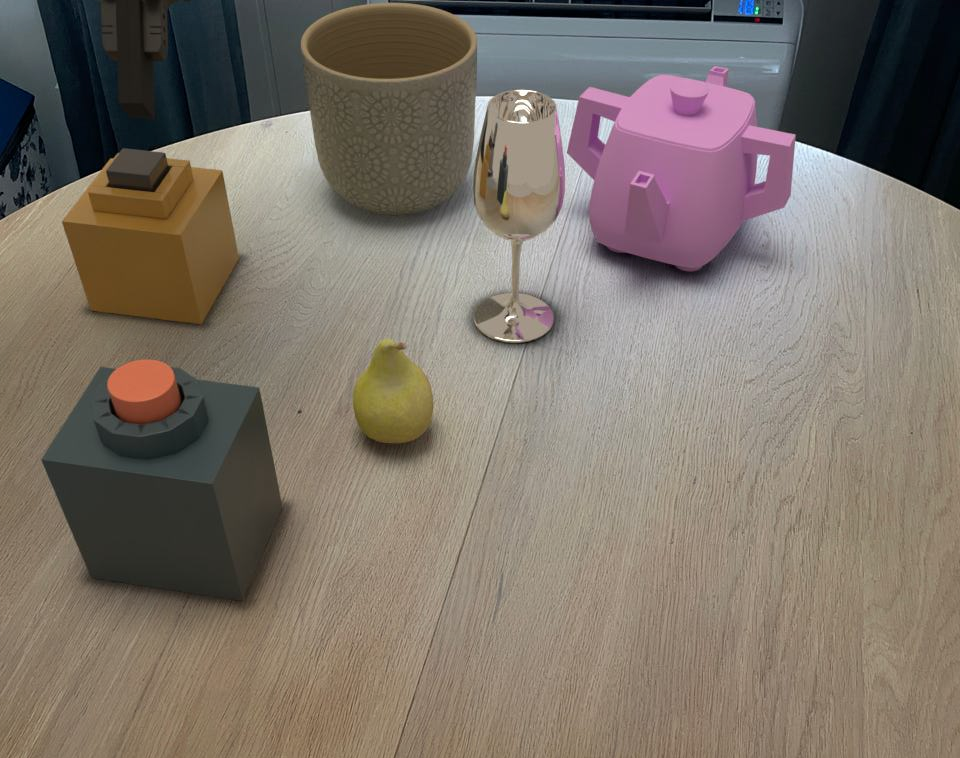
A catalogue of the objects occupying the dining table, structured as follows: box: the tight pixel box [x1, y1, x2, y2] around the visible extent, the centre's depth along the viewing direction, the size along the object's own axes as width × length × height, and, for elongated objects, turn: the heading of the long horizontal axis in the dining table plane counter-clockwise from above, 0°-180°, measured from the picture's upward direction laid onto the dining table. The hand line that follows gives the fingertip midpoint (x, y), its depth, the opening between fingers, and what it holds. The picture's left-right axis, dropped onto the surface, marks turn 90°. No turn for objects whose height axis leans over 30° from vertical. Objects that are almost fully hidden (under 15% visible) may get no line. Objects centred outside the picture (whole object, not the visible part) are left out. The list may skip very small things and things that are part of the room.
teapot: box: [566, 65, 797, 272], centre depth 104 cm, size 19×18×15 cm
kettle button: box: [106, 147, 169, 192], centre depth 95 cm, size 4×4×2 cm
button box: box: [40, 366, 283, 602], centre depth 78 cm, size 12×10×14 cm
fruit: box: [352, 338, 435, 444], centre depth 86 cm, size 7×8×12 cm
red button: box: [107, 359, 181, 425], centre depth 72 cm, size 4×4×2 cm
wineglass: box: [472, 89, 566, 344], centre depth 93 cm, size 8×8×20 cm
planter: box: [300, 2, 478, 216], centre depth 109 cm, size 17×17×15 cm
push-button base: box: [61, 152, 240, 325], centre depth 100 cm, size 11×11×11 cm
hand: (137, 110), depth 70 cm, fingers closed
